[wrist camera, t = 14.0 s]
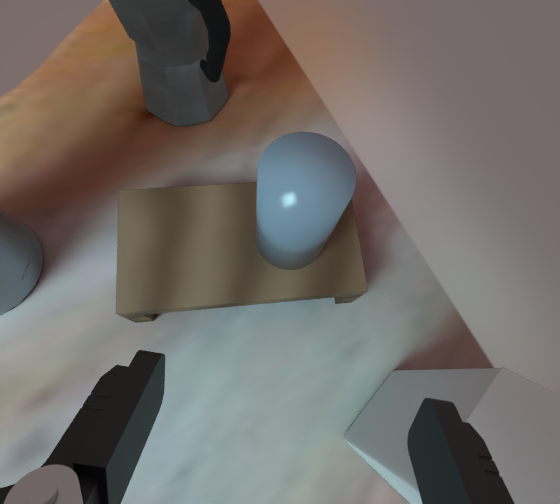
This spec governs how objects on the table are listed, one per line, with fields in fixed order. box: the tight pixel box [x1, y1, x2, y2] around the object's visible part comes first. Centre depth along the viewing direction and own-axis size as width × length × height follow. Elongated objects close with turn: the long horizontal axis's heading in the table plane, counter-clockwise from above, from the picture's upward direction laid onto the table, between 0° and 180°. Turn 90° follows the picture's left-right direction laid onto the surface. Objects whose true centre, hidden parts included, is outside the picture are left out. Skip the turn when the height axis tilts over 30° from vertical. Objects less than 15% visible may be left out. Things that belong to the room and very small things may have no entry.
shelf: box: [116, 182, 368, 322], centre depth 32 cm, size 19×10×5 cm, turn 96°
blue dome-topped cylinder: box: [255, 132, 356, 270], centre depth 25 cm, size 6×6×10 cm
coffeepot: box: [109, 0, 231, 126], centre depth 31 cm, size 15×9×18 cm, turn 38°
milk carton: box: [343, 368, 560, 504], centre depth 22 cm, size 7×7×19 cm
